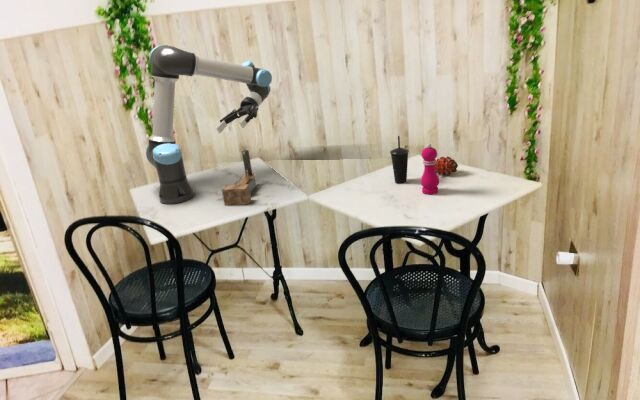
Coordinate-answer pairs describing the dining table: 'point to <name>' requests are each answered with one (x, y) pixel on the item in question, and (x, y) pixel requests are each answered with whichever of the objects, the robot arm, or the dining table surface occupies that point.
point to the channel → (250, 185)
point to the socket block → (236, 194)
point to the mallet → (246, 169)
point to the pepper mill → (429, 171)
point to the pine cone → (445, 166)
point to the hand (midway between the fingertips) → (229, 128)
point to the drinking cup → (400, 163)
